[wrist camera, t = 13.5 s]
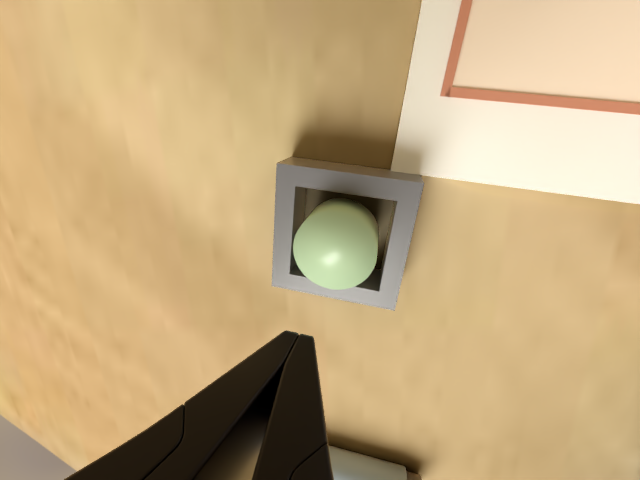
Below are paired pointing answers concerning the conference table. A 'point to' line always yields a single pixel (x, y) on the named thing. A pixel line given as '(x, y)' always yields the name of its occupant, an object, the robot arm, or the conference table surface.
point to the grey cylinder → (365, 467)
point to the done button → (337, 244)
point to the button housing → (349, 180)
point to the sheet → (526, 96)
